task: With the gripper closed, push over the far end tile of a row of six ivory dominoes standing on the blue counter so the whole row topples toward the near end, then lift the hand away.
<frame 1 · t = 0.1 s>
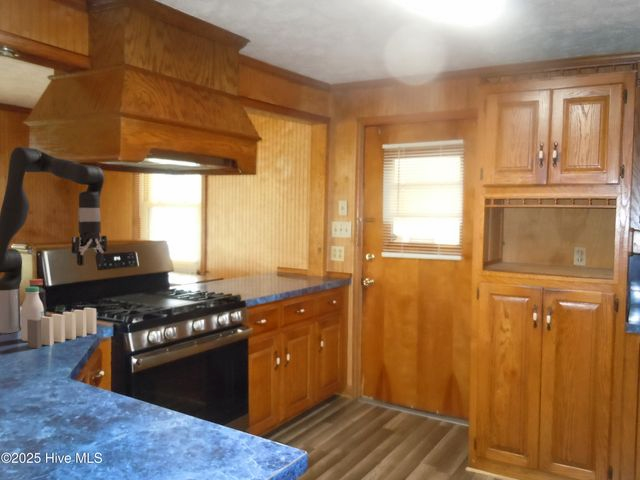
hand: (90, 264, 195), 29 cm above the counter, tool pointing down, fingers open, 8 cm apart
domino 6: (34, 347, 190), on the counter
milk bottle: (33, 340, 201), on the counter
domino 3: (69, 338, 203), on the counter
domino 2: (80, 335, 208), on the counter
domino 5: (46, 344, 194), on the counter
domino 4: (58, 341, 199), on the counter
vinegar: (36, 327, 223), on the counter
domino 1: (90, 333, 213), on the counter
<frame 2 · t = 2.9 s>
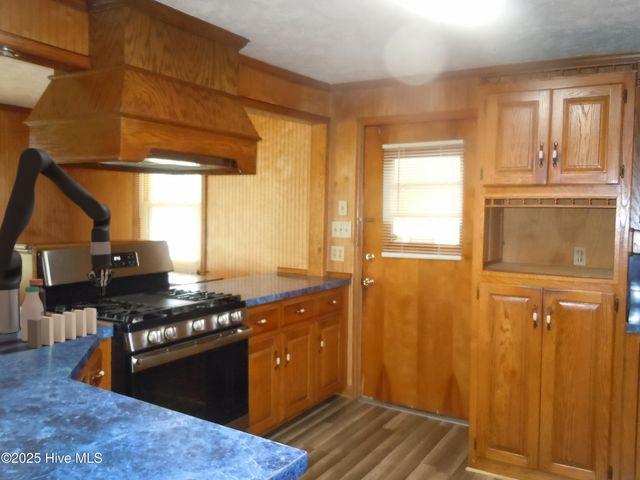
hand: (101, 295, 217), 15 cm above the counter, tool pointing down, fingers closed
nothing on the counter moved.
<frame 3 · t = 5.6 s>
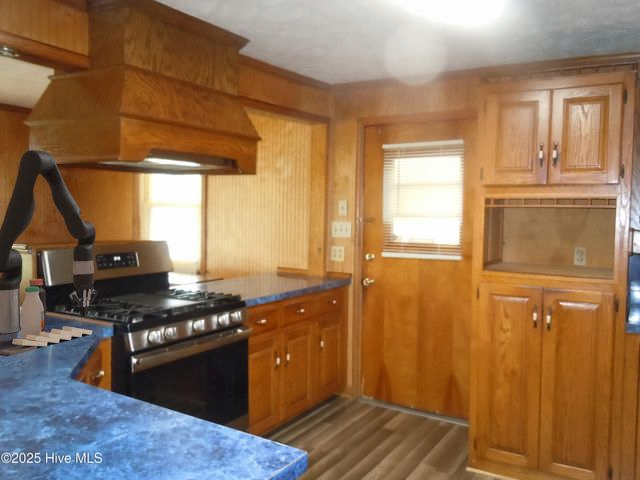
hand: (84, 315, 210), 7 cm above the counter, tool pointing down, fingers closed
domino 6: (32, 347, 189), on the counter, tilted 90°, touching domino 5
domino 3: (66, 337, 202), point 1 cm above the counter, tilted 72°, touching domino 4
domino 2: (77, 334, 207), point 1 cm above the counter, tilted 72°, touching domino 1
domino 5: (42, 343, 193), point 1 cm above the counter, tilted 75°, touching domino 4, domino 6
domino 4: (54, 340, 197), point 1 cm above the counter, tilted 72°, touching domino 3, domino 5
domino 1: (87, 332, 211), point 1 cm above the counter, tilted 72°, touching domino 2
everything else where it was.
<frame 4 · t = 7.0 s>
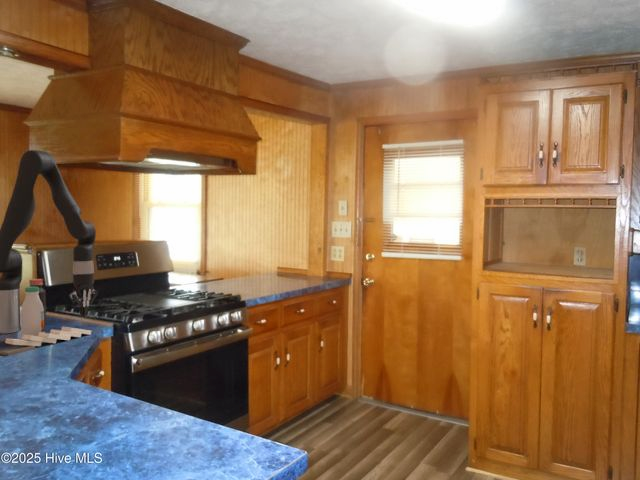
hand: (83, 315, 209), 8 cm above the counter, tool pointing down, fingers closed
domino 6: (30, 347, 188), on the counter, tilted 90°
domino 3: (65, 337, 202), point 1 cm above the counter, tilted 72°, touching domino 2, domino 4
domino 2: (76, 334, 206), point 1 cm above the counter, tilted 72°, touching domino 1, domino 3
domino 5: (37, 343, 192), point 1 cm above the counter, tilted 75°, touching domino 4
domino 4: (52, 340, 196), point 1 cm above the counter, tilted 72°, touching domino 3, domino 5
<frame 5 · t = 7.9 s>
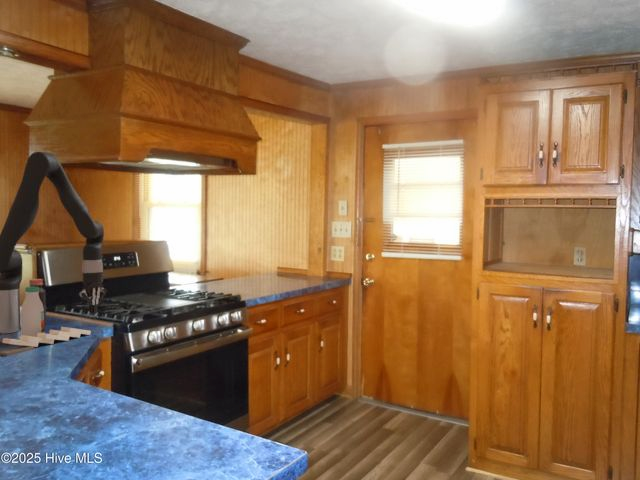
hand: (93, 313, 213), 8 cm above the counter, tool pointing down, fingers closed
domino 6: (29, 348, 188), on the counter, tilted 90°, touching domino 5
domino 5: (34, 343, 191), point 1 cm above the counter, tilted 73°, touching domino 6
domino 4: (49, 341, 196), point 1 cm above the counter, tilted 73°, touching domino 3
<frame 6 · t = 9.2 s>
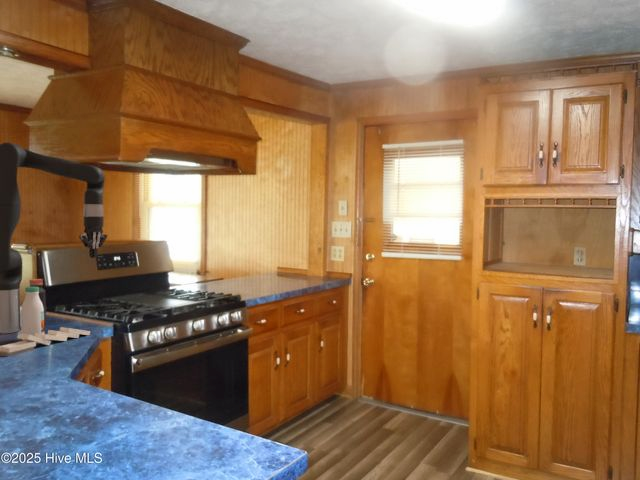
hand: (93, 257, 218), 30 cm above the counter, tool pointing down, fingers closed
domino 3: (62, 338, 200), point 1 cm above the counter, tilted 73°, touching domino 4
domino 2: (74, 335, 206), point 1 cm above the counter, tilted 73°, touching domino 1
domino 5: (30, 343, 188), point 2 cm above the counter, tilted 90°, touching domino 6
domino 4: (45, 342, 194), point 1 cm above the counter, tilted 65°, touching domino 3
domino 1: (85, 332, 210), point 1 cm above the counter, tilted 72°, touching domino 2
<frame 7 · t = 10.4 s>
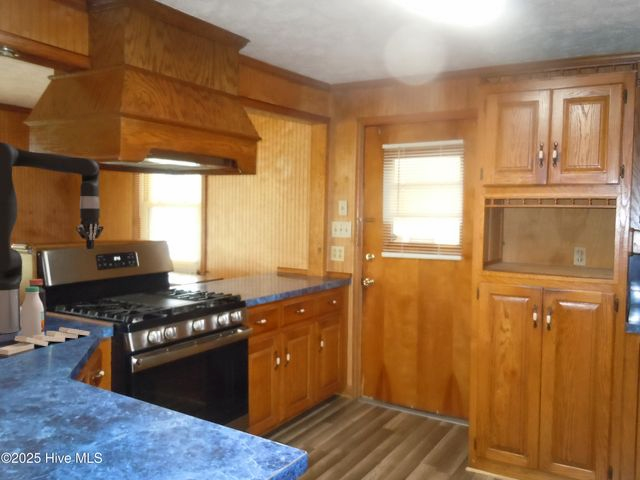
hand: (90, 249, 221), 33 cm above the counter, tool pointing down, fingers closed
domino 3: (59, 339, 200), point 1 cm above the counter, tilted 75°
domino 5: (28, 345, 186), point 2 cm above the counter, tilted 90°, touching domino 4, domino 6
domino 4: (42, 343, 192), point 1 cm above the counter, tilted 67°, touching domino 5
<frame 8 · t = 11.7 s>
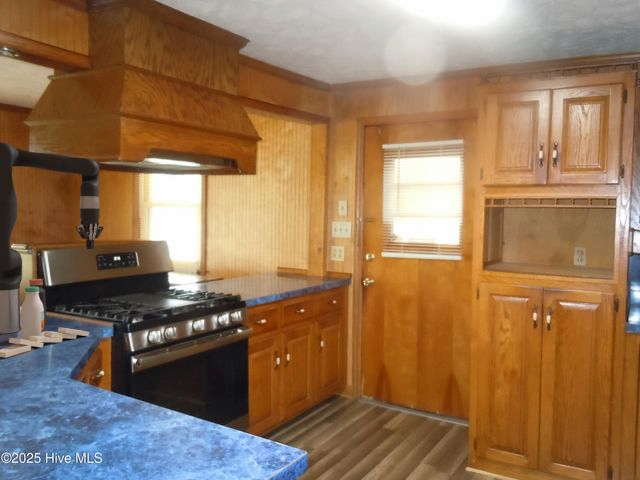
hand: (90, 249, 221), 33 cm above the counter, tool pointing down, fingers closed
domino 3: (57, 339, 199), point 1 cm above the counter, tilted 77°, touching domino 2
domino 2: (72, 335, 204), point 1 cm above the counter, tilted 75°, touching domino 1, domino 3
domino 5: (25, 347, 185), point 1 cm above the counter, tilted 90°, touching domino 4, domino 6
domino 4: (37, 344, 190), point 1 cm above the counter, tilted 69°, touching domino 5
domino 1: (84, 333, 209), point 1 cm above the counter, tilted 72°, touching domino 2
at the end: domino 6 tilted 90°; domino 1 tilted 73° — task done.
